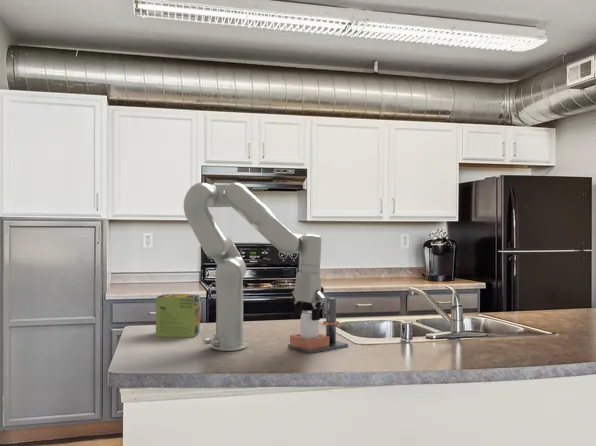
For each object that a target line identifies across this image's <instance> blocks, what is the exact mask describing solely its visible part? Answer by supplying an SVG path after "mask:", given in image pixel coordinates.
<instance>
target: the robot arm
mask: <svg viewBox="0 0 596 446" xmlns="http://www.w3.org/2000/svg"><path fill="white" fill-rule="evenodd" d="M209 208H232V209H233V210H234V211H235V212H237V213H238V214H239V215H240V217H242V218H243V220H245V221H247V223H248V224H249V225H250V226H252V228H253V229H255V230H256V231H257V232H258V233H259V234H261V236H262V237H264V239H265V240H267V241H268V242H269V243H270V244H271V245H272V246H273V247H275V249H276V250H278V251H279V252H280V253H281V254H283V255H286V256H290V255H291V256H292V255H293V254H299V257H298V272H296V273H297V274H296V277H295V283H294V289H293V290H292V292H291V294H292V299H293V301H294V302H293V304H294V316H295V317H296V316H297V317H298V316H301V314H302V311H304V310H303V309H304V304H303V303H307V304H311V305H312V309H311V311H312V320H313V321H314V320H319V321H320V319H321V310H322V307H323V306H324V303H325V300H326V297H325V296H324V295H323V294H322V281H321V280H322V279H321V258H322V257H321V256H322V237H321V236H320V235H319V234H310V233H309V234H305V233H304V234H299V233H293V232H292V231H290V230H289V228H287V227H286V226H285V225H284V224H283V223H281V222H280V220H278V219H277V217H276V216H275V215H274V214H273V212H272V211H271V209H269V207H268V206H266V205H265V204H264V203H263V202H262V201H260V199H259V198H258V197H257V196H256V195H254V194H253V193H252V192H251V191H250V190H249V188H247V186H246V185H244V184H242V183H240V182H235V181H234V182H231V183H229V184H210V183H206V182H197V183H194V184H193V185H192V186H191V187H190V188H189V189H188V190H187V192H186V194H185V196H184V198H183V213H184V216H185V218H186V221H187V222H188V224H189V226H190V228H191V229H192V232H193V233H194V236H195V237H196V240H197V241H198V243H199V245H200V246H201V248H202V251H203V253H204V254H205V255H206V256H207V257H208V258H212V259H213V261H214V262H215V264H216V269H215V274H214V280H215V295H216V296H215V297H216V299H215V305H216V306H215V308H216V309H215V312H216V316H215V317H216V318H215V319H216V320H215V326H216V327H215V334H213V335H212V337H211V338H209V337H208V338H203V341H202V342H203V343H202V344H203V345H205V346H206V345H211V348H212V349H213V350H216V351H221V352H222V351H223V352H231V351H233V352H235V351H241V350H245V349H247V348H248V343H247V341H244V284H243V283H244V281H243V279H244V278H245V276H246V273H247V265H246V262H245V260H244V259H243V256H242V255H241V253H240V252H239V250H238V249H237V246H236V245H235V243H234V241H233V240H232V238H231V236H230V235H229V234H228V233H226V232H223V231H222V230H221V229H220V226H218V224H217V222H216V220H215V218H214V217H213V215H212V213H211V212H210V210H209Z"/></svg>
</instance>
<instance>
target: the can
mask: <svg viewBox="0 0 596 446" xmlns="http://www.w3.org/2000/svg"><path fill="white" fill-rule="evenodd" d="M299 327H300V332H299V334H300V337H303V338H306V339H311V338H317V337H319V334H320V332H319V331H320V330H319V328H320V320H314V321H313V320H312V310H303V311H302V314H301V315H300V325H299Z"/></svg>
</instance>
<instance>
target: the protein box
mask: <svg viewBox="0 0 596 446" xmlns="http://www.w3.org/2000/svg"><path fill="white" fill-rule="evenodd" d="M155 300H156V301H155V337H156V338H195V337H196V336H197V335H198V334H199V333H201V293H163V294H160V295H158V296H157V297H156V299H155Z"/></svg>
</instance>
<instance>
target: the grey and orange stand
mask: <svg viewBox="0 0 596 446" xmlns="http://www.w3.org/2000/svg"><path fill="white" fill-rule="evenodd" d="M325 300H326V301H325V304H326V305H325V320H323V321H322V325H323V326H325V334H322V333H319V337H317V338H311V339H306V338H303V337H300V333H295V334H290V335H289V344H287V348H290V349H293V350H296V351H299V352H301V353H306V354H308V355H311V354H315V353H321V352H326V351H332V350H339V349H344V348H349V343H346V342H342V341H338V340H337V326H339V325H340V321H339V320H337V297H325Z"/></svg>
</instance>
